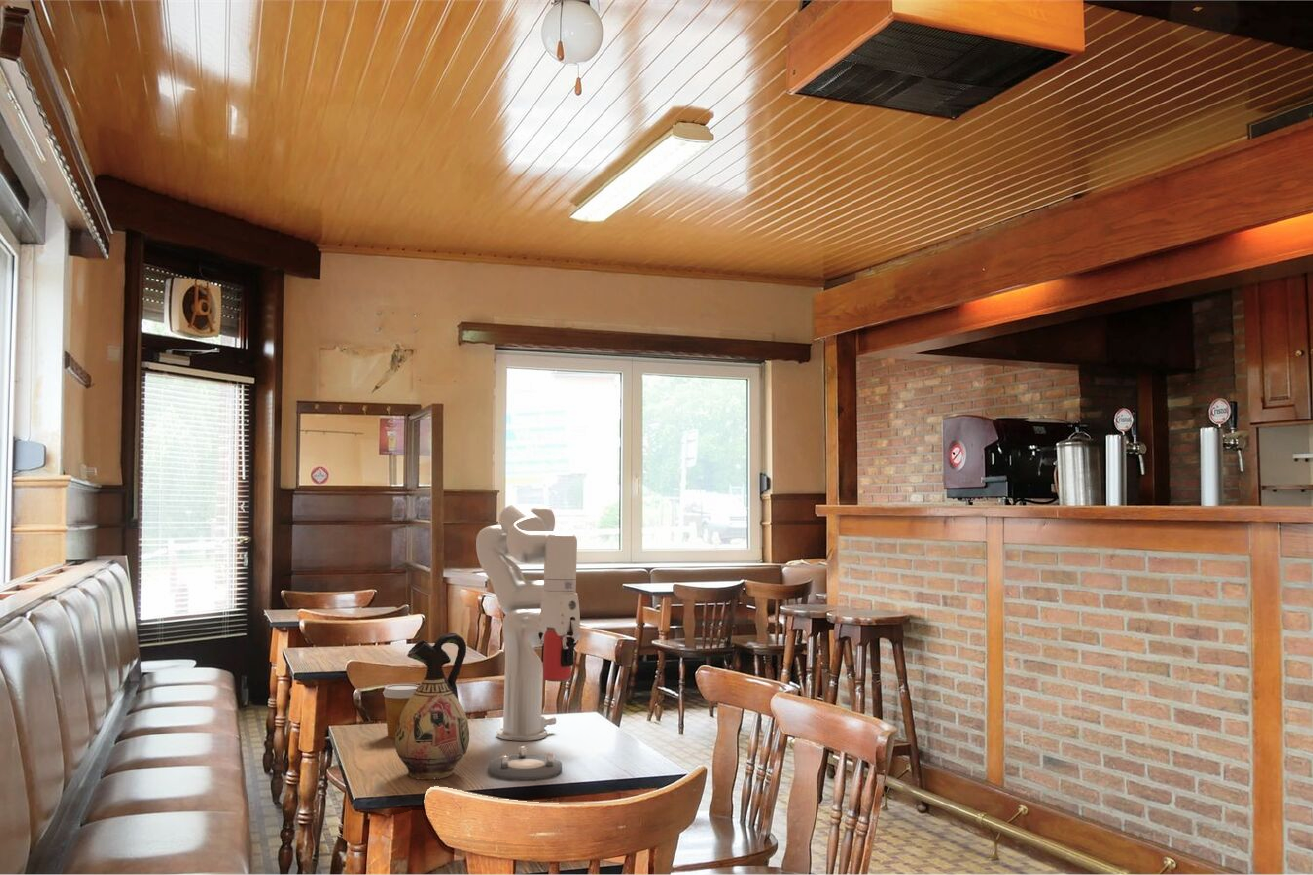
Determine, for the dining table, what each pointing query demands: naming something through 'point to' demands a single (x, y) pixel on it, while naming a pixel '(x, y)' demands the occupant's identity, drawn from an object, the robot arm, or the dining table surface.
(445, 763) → the ceramic jug
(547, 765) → the steel pins
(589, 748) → the dining table surface
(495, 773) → the pin plate
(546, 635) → the beer can
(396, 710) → the disposable coffee cup
